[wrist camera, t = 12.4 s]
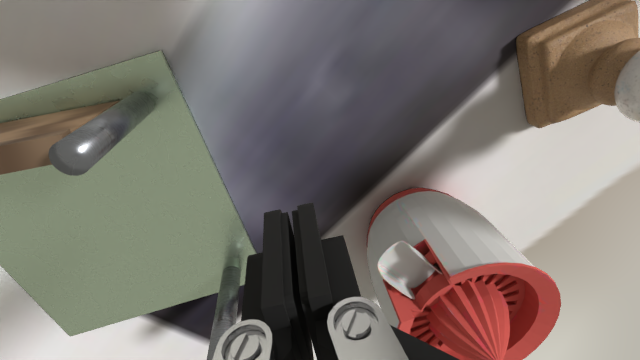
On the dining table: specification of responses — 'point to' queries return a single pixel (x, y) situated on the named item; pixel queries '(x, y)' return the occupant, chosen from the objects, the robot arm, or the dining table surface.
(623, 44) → the candle holder
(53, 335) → the dining table surface
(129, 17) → the dining table surface
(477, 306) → the citrus juicer
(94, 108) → the gate
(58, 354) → the dining table surface
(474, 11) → the dining table surface
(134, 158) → the gate frame
